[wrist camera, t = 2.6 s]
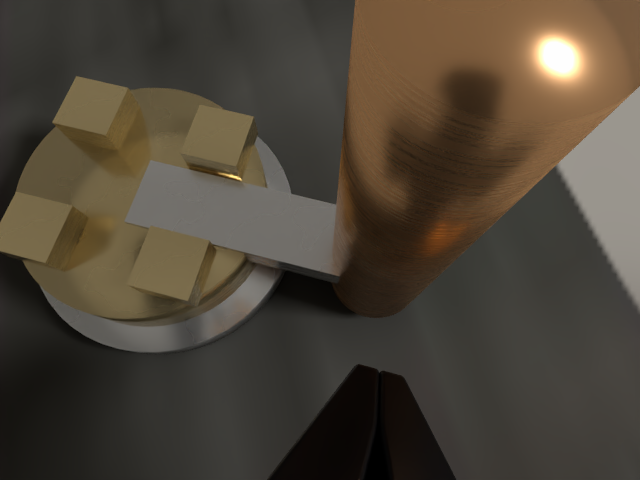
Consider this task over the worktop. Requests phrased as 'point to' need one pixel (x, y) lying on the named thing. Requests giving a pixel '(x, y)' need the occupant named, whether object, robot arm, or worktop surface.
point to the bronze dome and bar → (355, 166)
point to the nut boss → (203, 326)
